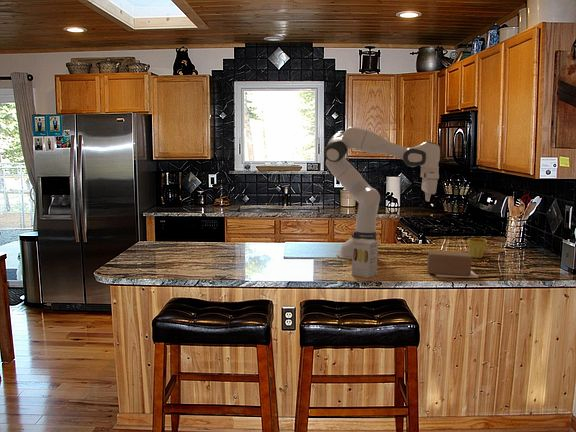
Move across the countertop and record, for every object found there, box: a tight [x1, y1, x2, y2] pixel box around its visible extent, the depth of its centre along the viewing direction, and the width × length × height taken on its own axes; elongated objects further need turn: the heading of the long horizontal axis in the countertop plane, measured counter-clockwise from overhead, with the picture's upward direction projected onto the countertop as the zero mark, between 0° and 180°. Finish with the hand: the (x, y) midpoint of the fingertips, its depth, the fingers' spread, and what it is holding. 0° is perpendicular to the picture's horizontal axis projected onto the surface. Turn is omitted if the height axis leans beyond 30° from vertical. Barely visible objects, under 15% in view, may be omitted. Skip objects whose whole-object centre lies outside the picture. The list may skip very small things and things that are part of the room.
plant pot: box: [467, 237, 488, 259], centre depth 322 cm, size 10×10×10 cm
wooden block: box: [426, 249, 473, 276], centre depth 280 cm, size 10×10×20 cm
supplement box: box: [351, 239, 379, 279], centre depth 274 cm, size 10×9×17 cm
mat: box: [434, 270, 479, 279], centre depth 283 cm, size 20×16×1 cm
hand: (427, 201), depth 290 cm, fingers closed
